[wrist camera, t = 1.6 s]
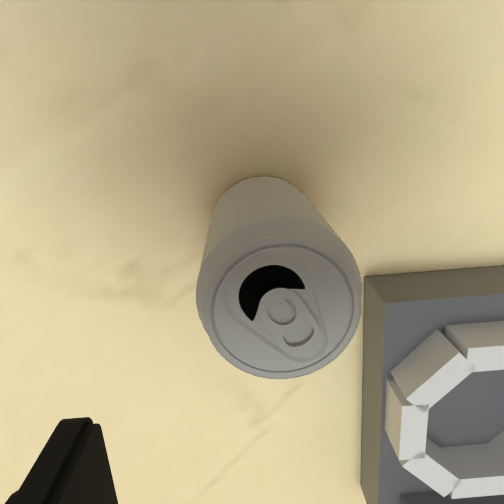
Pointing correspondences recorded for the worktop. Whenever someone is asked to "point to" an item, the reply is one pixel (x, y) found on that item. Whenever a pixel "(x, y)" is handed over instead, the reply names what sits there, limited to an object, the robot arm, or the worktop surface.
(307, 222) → the beverage can
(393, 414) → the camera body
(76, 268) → the worktop surface
